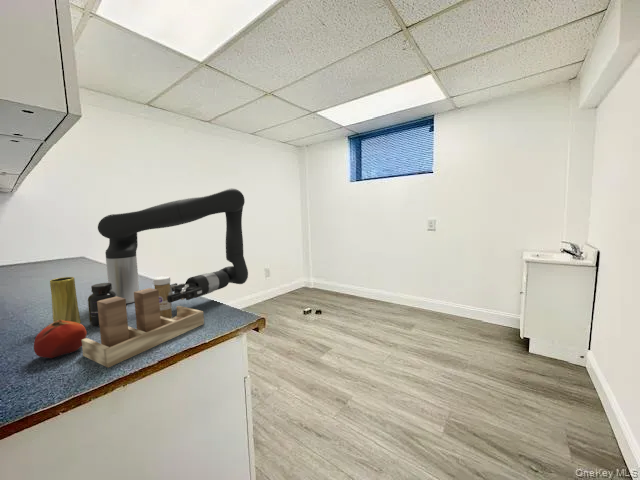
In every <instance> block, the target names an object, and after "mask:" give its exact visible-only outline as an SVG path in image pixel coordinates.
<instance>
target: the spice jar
mask: <svg viewBox="0 0 640 480" xmlns="http://www.w3.org/2000/svg"><path fill="white" fill-rule="evenodd" d="M170 285H171V276H168V275H162V276H161V275H160V276H156V277H154V278H153V286H154V289H157V290H158V292H159V305H160V316H162V317H166V318H169V319H170V318H173V311H172V302H171V303H169V302H168V300H167V297H168V295H171V291H170Z"/></svg>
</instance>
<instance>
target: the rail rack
mask: <svg viewBox="0 0 640 480" xmlns="http://www.w3.org/2000/svg"><path fill="white" fill-rule="evenodd" d="M134 301H135V302H134V311H135V313H134V314H135V322H136V323H135V324H136V325H135V326H136V328H134V327H131V326H129V323H128V322H129V321H128V311H127V304H126V299H125V298H121V297H117V296H116V297H112V298H108V299H104V300H100V301H97V305H98V315H99V325H100V326H99V336H100V342H98V341H95V340H93V339H90V338H87V337H86V338H85V339H82V340H81V341H82V346H81V348H82V349H81V350H82V356H83V357H85V358H87V359H88V360H91V361H93V362H95V363H97V364H99V365H101V366H104V367H106V368H111V367H113V366H115V365H117V364H119V363H122V362H123V361H126V360H128V359H130V358H133V357H135V356H137V355H139V354H141V353H144V352H147V351H148V350H150V349H152V348H154V347H156V346H159V345H161V344H163V343H165V342H168V341H170V340H171V339H174V338H176V337H178V336H181V335H182V334H185V333H188V332H190V331H192V330H194V329H196V328H198V327H200V326H203V325H204V324H205V319H204V318H205V316H204V311H203V310H199V309H196V308H191V307H186V306H183V305H177V306H175V307H176V316H172V318H170V319H169V318H166V317H162V316H160V305H159V292H158V290H157V289H155V288H151V287H148V288H145V289H139V291H136V292H134Z"/></svg>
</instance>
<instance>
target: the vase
mask: <svg viewBox="0 0 640 480" xmlns="http://www.w3.org/2000/svg"><path fill="white" fill-rule="evenodd" d="M49 286H50V294H51V309H52V321H53V322H52V323H54V322H55V321H57V320H63V321H71V322H76V323H79V324H82V323H81V322H82V320H81V317H80V311H79V304H78V296H77V290H76V281H75V277H73V276H65V277H58V278H53V279H50V280H49Z"/></svg>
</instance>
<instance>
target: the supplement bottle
mask: <svg viewBox="0 0 640 480" xmlns="http://www.w3.org/2000/svg"><path fill="white" fill-rule="evenodd" d="M111 290H112V284H111V283H108V282H102V283H101V282H100V283H96V284H92V285H91V290H90V291H91V294H90V295H89V296H88V298H87V306H88V316H89V317H88V318H89V324H90V326H92V327H100V325H99V315H98V305H97V301H100V300H104V299H108V298H112V297H116V296H117V295H116V293H115V292H113V291H111Z"/></svg>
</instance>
